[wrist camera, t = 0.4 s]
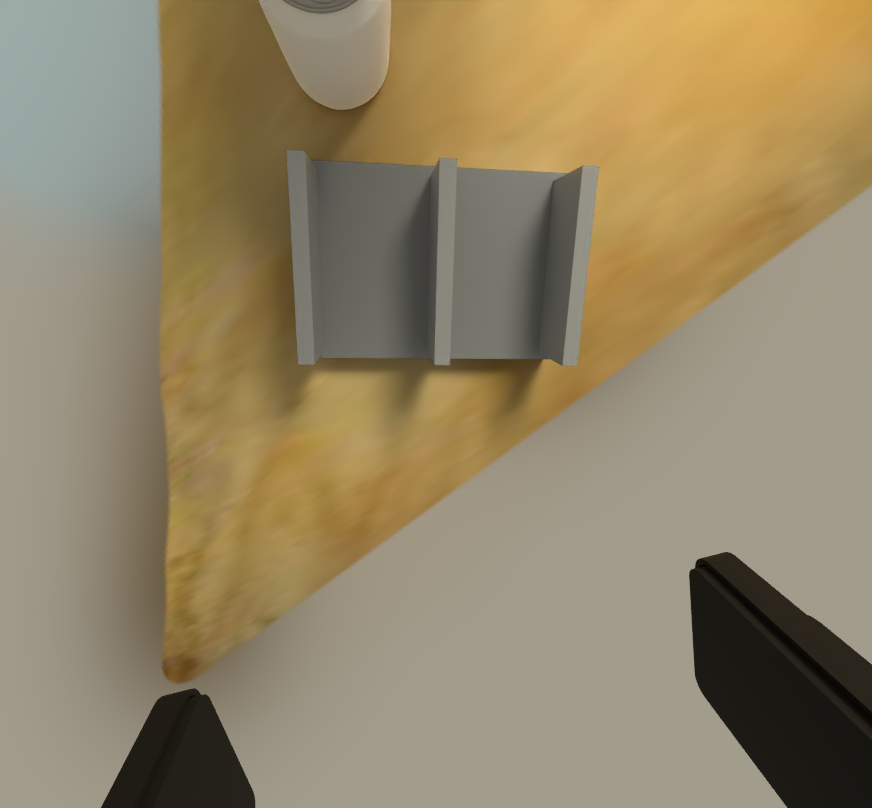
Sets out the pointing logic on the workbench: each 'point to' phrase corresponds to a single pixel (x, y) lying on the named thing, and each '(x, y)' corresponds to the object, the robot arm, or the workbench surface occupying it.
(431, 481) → the workbench surface
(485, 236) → the rack
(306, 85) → the can
